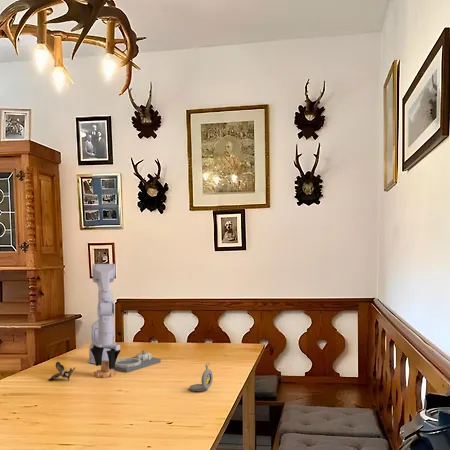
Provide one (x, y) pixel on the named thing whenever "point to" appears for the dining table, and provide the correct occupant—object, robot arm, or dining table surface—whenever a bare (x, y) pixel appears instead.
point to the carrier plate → (135, 362)
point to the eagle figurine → (62, 371)
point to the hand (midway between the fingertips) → (105, 366)
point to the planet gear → (105, 370)
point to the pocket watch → (203, 381)
